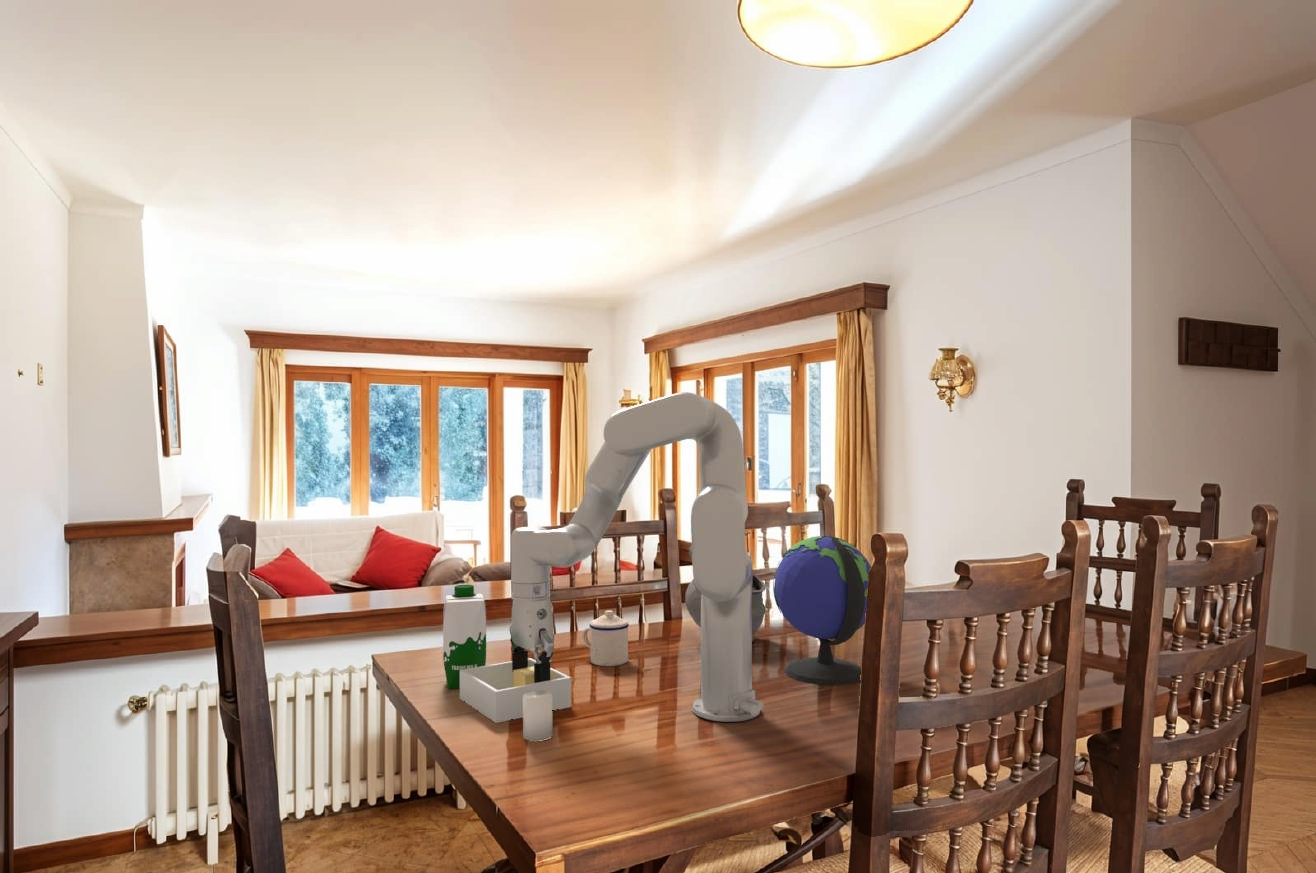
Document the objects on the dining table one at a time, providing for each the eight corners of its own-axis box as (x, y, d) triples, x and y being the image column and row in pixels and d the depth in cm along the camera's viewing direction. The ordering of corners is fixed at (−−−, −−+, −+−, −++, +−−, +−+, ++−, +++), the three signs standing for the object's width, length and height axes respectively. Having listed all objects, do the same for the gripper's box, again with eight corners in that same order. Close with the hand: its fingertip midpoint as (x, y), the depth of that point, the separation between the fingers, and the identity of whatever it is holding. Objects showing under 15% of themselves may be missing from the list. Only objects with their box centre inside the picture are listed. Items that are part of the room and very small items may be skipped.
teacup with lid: (636, 660, 187) (636, 609, 187) (613, 669, 179) (613, 616, 179) (595, 653, 193) (595, 604, 193) (571, 661, 186) (571, 611, 186)
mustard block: (548, 697, 157) (548, 671, 157) (525, 702, 154) (525, 676, 154) (536, 690, 161) (536, 666, 161) (513, 695, 158) (513, 670, 158)
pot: (671, 636, 210) (671, 540, 210) (740, 628, 218) (739, 536, 219) (709, 655, 191) (709, 549, 191) (782, 645, 200) (782, 544, 200)
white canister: (557, 737, 137) (557, 696, 137) (531, 744, 134) (531, 702, 134) (544, 729, 141) (544, 689, 141) (518, 735, 138) (518, 694, 138)
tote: (571, 707, 153) (571, 677, 153) (495, 723, 144) (495, 691, 144) (530, 685, 167) (530, 658, 168) (459, 698, 159) (459, 670, 159)
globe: (892, 669, 178) (891, 533, 179) (856, 694, 160) (855, 544, 160) (799, 654, 191) (798, 528, 191) (756, 677, 173) (755, 537, 173)
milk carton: (484, 675, 174) (484, 583, 175) (487, 687, 166) (487, 590, 166) (442, 679, 172) (442, 585, 172) (443, 691, 163) (443, 592, 164)
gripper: (568, 594, 153) (569, 684, 153) (528, 582, 167) (528, 664, 167) (533, 599, 149) (533, 691, 149) (494, 586, 163) (495, 670, 163)
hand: (530, 677), depth 158 cm, fingers open, 9 cm apart
